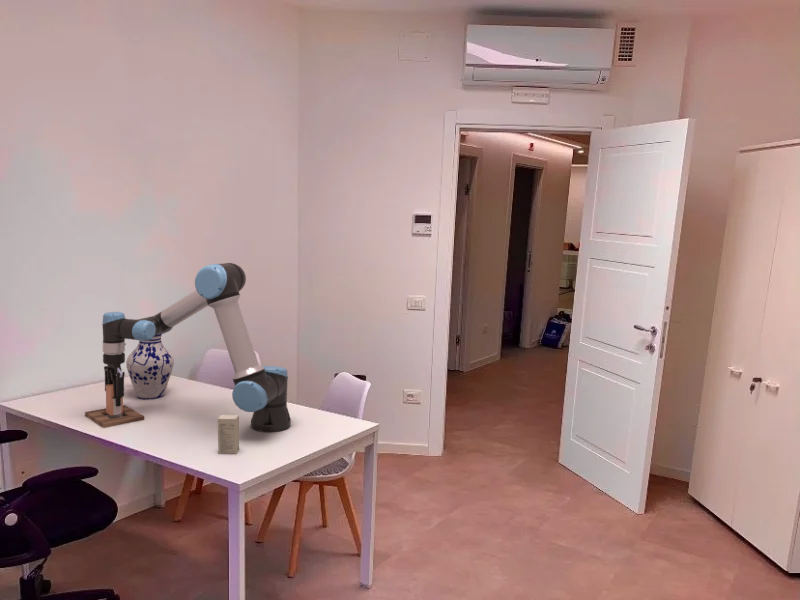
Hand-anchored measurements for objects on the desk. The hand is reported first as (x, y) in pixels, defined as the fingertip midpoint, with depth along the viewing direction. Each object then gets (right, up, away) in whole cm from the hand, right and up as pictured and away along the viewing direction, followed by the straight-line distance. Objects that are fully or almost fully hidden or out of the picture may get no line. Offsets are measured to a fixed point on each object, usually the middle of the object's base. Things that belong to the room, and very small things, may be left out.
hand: (114, 412), depth 231 cm
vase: (+1, +1, +31) cm, 31 cm away
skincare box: (+52, -8, -27) cm, 59 cm away
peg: (0, 0, 0) cm, 0 cm away
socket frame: (0, -2, 0) cm, 2 cm away
